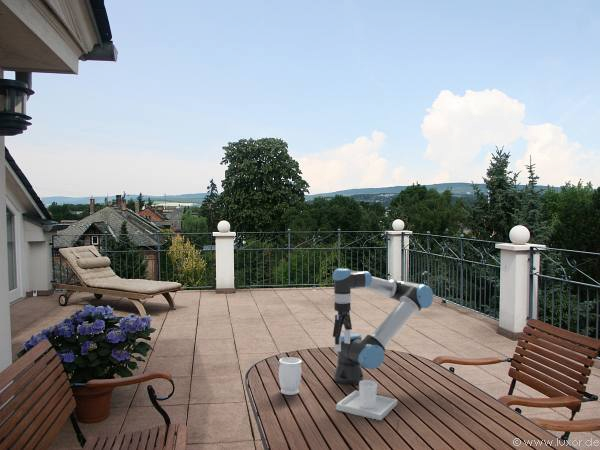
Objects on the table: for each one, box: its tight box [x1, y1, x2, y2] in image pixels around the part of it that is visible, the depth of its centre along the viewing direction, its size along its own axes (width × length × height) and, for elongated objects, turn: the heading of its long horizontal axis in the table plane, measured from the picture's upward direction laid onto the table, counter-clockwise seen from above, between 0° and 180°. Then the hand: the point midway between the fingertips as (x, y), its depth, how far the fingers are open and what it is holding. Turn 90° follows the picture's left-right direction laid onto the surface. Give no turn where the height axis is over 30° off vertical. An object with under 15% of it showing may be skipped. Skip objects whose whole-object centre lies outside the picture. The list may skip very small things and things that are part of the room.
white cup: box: [358, 379, 378, 409], centre depth 205 cm, size 8×8×10 cm
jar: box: [278, 356, 302, 396], centre depth 221 cm, size 11×10×15 cm
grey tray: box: [335, 389, 398, 422], centre depth 205 cm, size 20×20×2 cm
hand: (342, 347), depth 222 cm, fingers open, 13 cm apart
